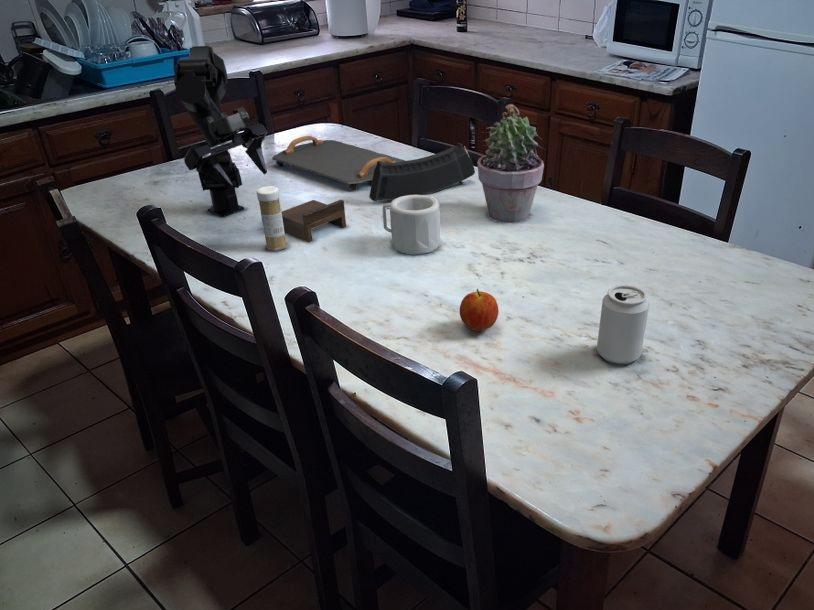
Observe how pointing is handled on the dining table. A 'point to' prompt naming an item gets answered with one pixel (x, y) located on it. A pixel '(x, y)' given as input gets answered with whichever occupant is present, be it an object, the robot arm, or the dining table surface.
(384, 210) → the mug
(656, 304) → the dining table surface
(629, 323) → the can
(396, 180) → the magazine
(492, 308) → the fruit
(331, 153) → the serving tray
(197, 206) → the dining table surface
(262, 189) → the sprinkles bottle
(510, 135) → the potted plant
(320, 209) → the shelf
